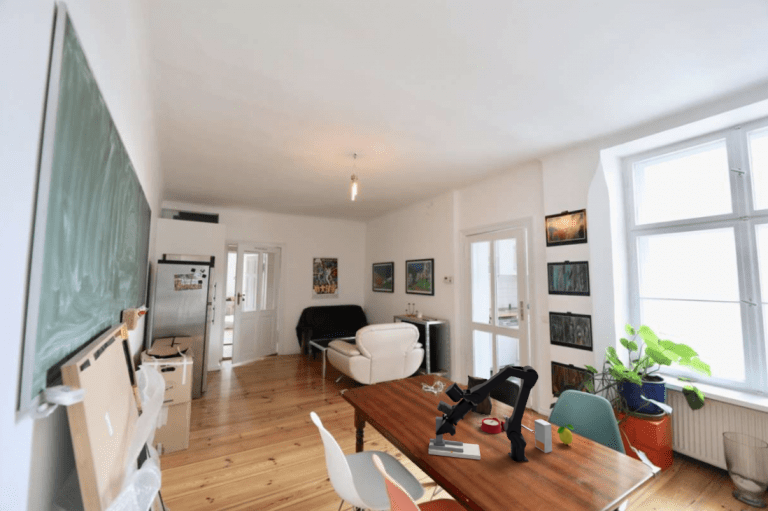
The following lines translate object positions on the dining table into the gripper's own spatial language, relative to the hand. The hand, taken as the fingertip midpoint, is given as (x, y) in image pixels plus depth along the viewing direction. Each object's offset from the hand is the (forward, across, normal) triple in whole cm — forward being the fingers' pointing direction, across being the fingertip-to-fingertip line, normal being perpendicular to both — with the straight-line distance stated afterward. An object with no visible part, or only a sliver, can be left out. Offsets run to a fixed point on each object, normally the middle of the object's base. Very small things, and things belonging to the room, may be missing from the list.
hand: (436, 432), depth 150 cm
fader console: (-1, 0, +11) cm, 11 cm away
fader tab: (+3, 0, +5) cm, 6 cm away
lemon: (-37, -18, +47) cm, 62 cm away
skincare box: (-29, -10, +39) cm, 49 cm away
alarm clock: (-14, -28, +25) cm, 40 cm away
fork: (-25, -35, +36) cm, 56 cm away
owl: (-12, -51, +22) cm, 57 cm away
